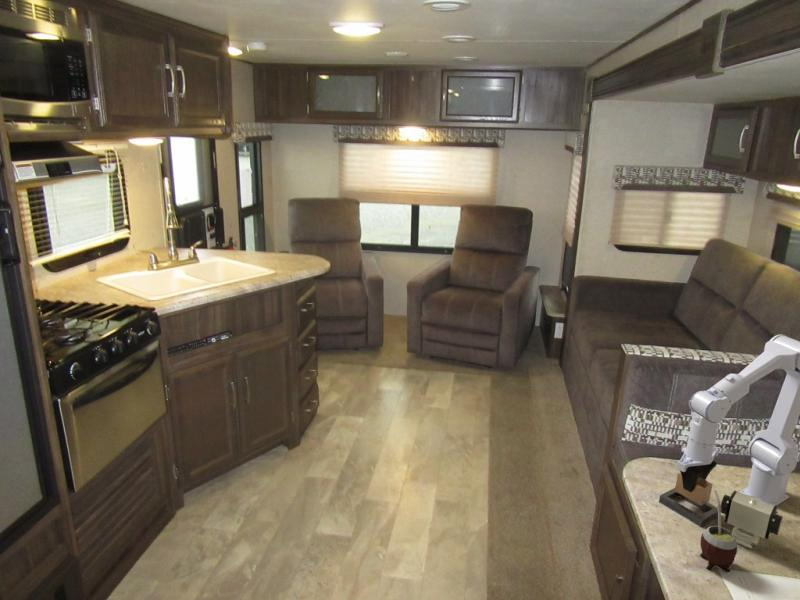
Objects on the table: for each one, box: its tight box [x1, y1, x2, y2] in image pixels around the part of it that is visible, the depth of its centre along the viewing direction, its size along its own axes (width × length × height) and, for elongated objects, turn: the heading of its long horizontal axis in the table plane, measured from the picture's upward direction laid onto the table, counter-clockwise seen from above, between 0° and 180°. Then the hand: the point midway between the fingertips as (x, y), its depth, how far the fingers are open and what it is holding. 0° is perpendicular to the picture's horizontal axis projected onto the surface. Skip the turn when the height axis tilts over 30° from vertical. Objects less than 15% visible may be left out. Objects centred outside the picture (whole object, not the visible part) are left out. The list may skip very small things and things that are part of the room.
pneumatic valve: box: [720, 490, 784, 550], centre depth 132 cm, size 6×12×12 cm, turn 48°
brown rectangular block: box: [674, 472, 713, 506], centre depth 143 cm, size 7×4×5 cm, turn 32°
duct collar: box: [658, 487, 718, 528], centre depth 145 cm, size 8×11×2 cm
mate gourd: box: [699, 490, 738, 573], centre depth 125 cm, size 8×8×15 cm
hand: (692, 487), depth 144 cm, fingers closed on brown rectangular block, 3 cm apart
